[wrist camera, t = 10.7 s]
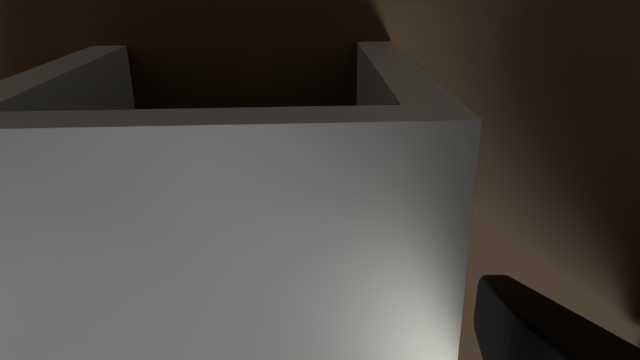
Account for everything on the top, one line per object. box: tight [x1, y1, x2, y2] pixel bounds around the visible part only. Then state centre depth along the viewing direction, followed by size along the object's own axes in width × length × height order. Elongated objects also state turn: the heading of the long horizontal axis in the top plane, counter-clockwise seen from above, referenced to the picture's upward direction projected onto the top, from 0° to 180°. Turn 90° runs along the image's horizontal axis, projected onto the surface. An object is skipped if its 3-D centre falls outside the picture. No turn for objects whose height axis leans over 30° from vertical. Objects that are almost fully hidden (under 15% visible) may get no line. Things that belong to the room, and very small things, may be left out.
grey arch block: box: [0, 41, 482, 360], centre depth 11 cm, size 7×7×7 cm
